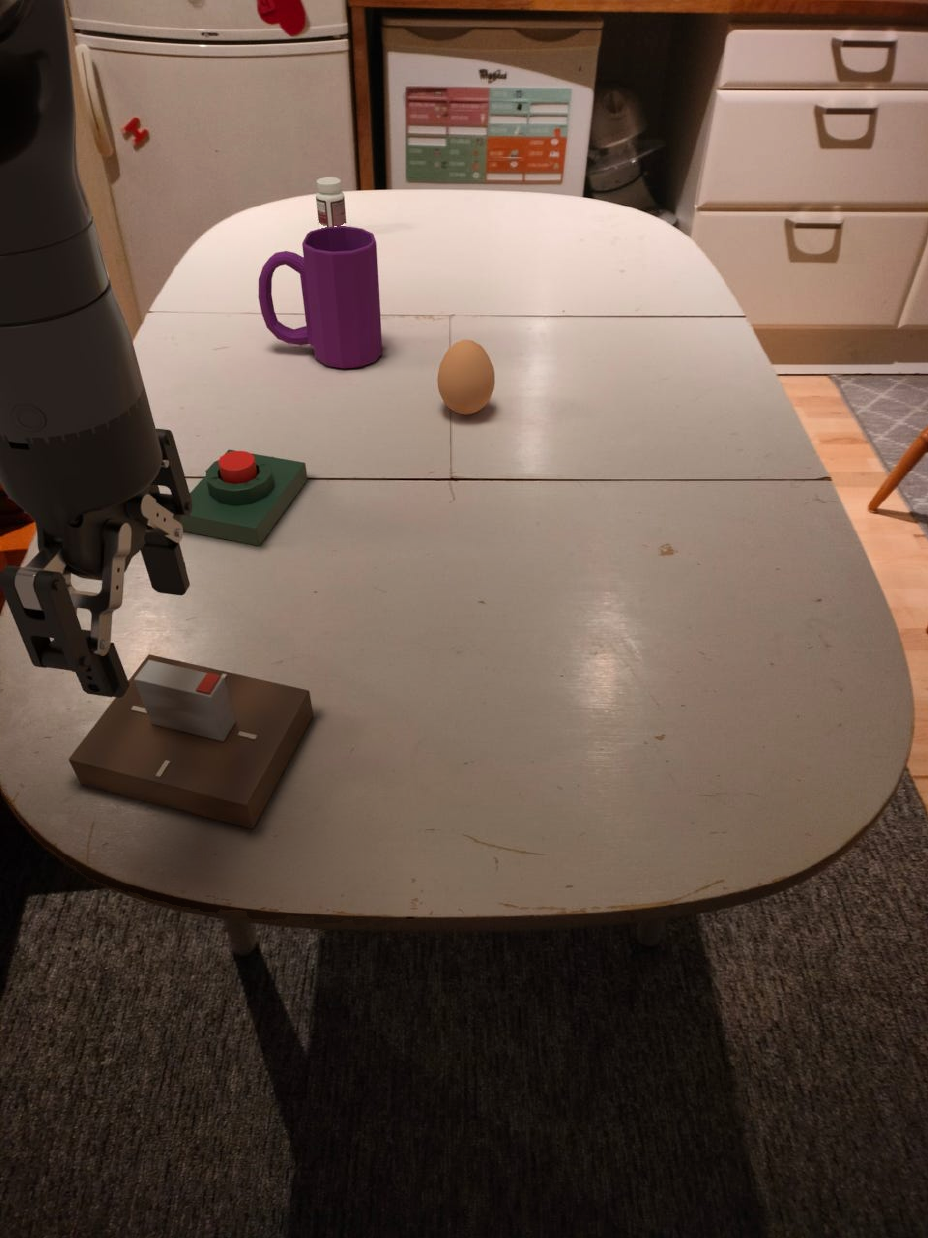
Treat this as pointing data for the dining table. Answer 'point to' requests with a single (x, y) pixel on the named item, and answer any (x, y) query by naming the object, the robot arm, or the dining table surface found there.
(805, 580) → the dining table surface
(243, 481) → the red push button
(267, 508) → the switch
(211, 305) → the dining table surface
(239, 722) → the panel
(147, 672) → the tap handle
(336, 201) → the pill bottle
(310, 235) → the mug
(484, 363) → the egg
